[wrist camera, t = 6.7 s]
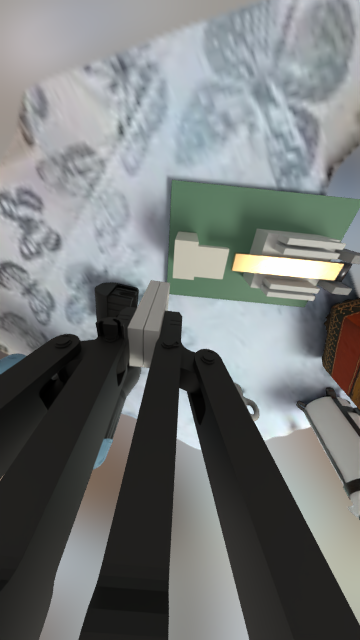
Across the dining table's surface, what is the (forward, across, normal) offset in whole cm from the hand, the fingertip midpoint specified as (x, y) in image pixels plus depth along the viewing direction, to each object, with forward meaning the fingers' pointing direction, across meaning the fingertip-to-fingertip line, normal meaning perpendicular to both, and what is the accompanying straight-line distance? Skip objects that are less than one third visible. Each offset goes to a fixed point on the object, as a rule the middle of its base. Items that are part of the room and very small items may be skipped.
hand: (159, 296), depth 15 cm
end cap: (+21, -10, -13) cm, 26 cm away
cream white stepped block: (+19, +4, +1) cm, 19 cm away
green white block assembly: (+20, +13, +1) cm, 24 cm away
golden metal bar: (+14, +17, +1) cm, 22 cm away
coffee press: (+20, +50, -38) cm, 66 cm away
